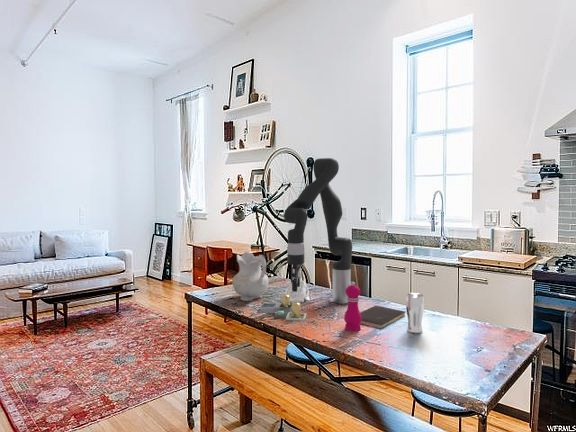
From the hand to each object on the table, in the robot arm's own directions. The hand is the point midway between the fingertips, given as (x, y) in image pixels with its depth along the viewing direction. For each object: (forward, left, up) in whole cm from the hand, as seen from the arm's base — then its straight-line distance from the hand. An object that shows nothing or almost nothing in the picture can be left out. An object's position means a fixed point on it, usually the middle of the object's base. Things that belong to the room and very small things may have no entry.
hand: (296, 289), depth 179 cm
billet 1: (+6, -10, -13) cm, 18 cm away
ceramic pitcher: (+28, -31, -14) cm, 44 cm away
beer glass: (-50, +7, -14) cm, 52 cm away
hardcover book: (-36, -8, -15) cm, 40 cm away
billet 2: (0, 0, -13) cm, 13 cm away
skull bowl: (+3, -28, -14) cm, 32 cm away
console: (+7, 0, -14) cm, 16 cm away
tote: (0, 0, -14) cm, 14 cm away
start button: (+7, 0, -13) cm, 14 cm away
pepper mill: (-25, +8, -14) cm, 30 cm away
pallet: (+10, -10, -14) cm, 20 cm away
